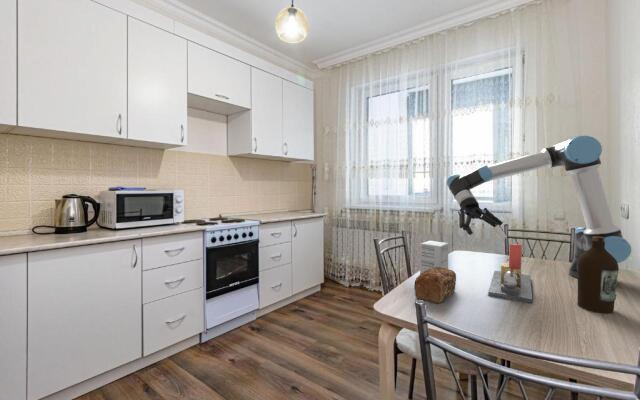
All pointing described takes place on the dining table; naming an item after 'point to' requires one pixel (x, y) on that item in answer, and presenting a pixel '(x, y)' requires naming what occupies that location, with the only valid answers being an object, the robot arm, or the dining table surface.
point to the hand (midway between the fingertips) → (490, 239)
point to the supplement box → (433, 255)
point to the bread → (435, 284)
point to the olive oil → (597, 278)
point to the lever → (515, 256)
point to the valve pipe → (511, 284)
